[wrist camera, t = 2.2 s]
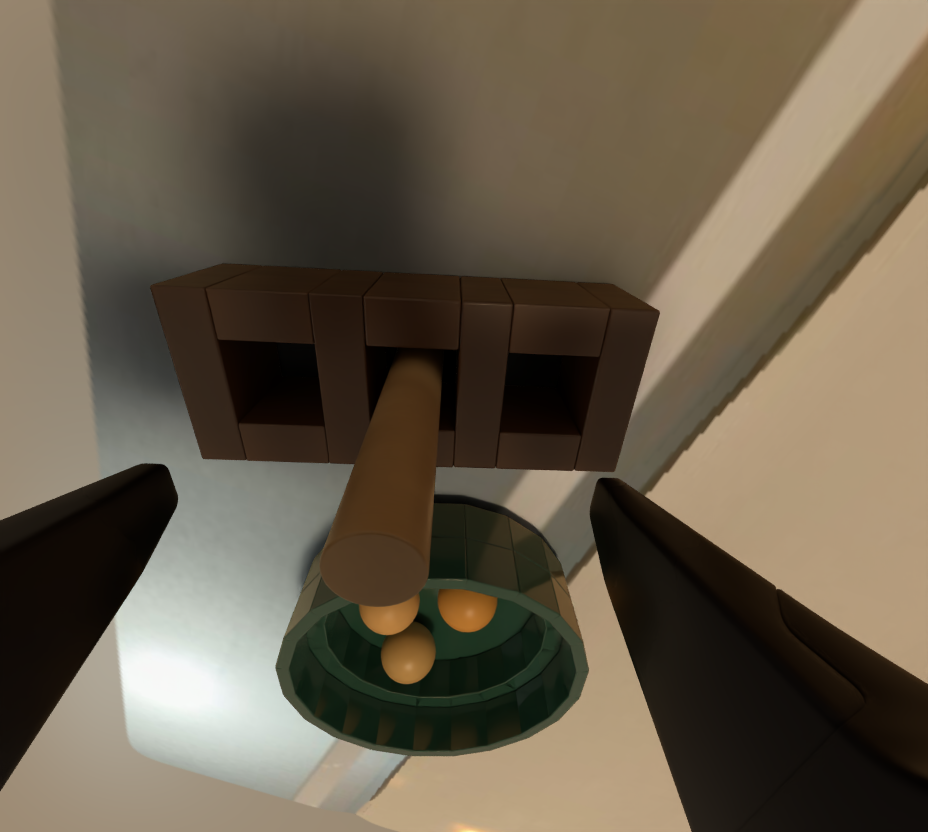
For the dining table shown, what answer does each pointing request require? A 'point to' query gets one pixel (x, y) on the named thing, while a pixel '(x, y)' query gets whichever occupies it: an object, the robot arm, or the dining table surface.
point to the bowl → (445, 649)
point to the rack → (407, 326)
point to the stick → (390, 491)
